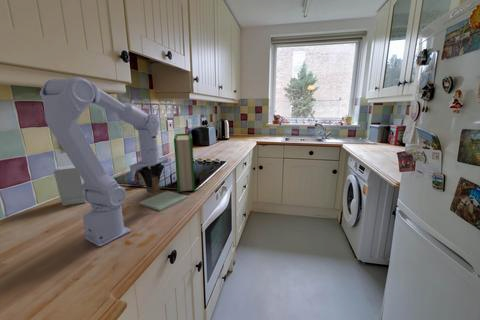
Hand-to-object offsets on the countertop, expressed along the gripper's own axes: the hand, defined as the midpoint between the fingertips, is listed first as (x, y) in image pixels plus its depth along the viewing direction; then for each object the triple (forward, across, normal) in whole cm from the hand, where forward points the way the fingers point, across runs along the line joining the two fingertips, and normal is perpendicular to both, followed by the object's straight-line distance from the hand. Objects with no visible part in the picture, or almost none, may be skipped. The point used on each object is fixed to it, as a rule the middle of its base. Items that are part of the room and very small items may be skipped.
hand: (152, 185), depth 83 cm
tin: (+10, -17, -29) cm, 35 cm away
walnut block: (+2, 0, 0) cm, 3 cm away
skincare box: (+9, +13, -33) cm, 36 cm away
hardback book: (+10, -24, -8) cm, 27 cm away
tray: (+9, -6, -3) cm, 12 cm away
